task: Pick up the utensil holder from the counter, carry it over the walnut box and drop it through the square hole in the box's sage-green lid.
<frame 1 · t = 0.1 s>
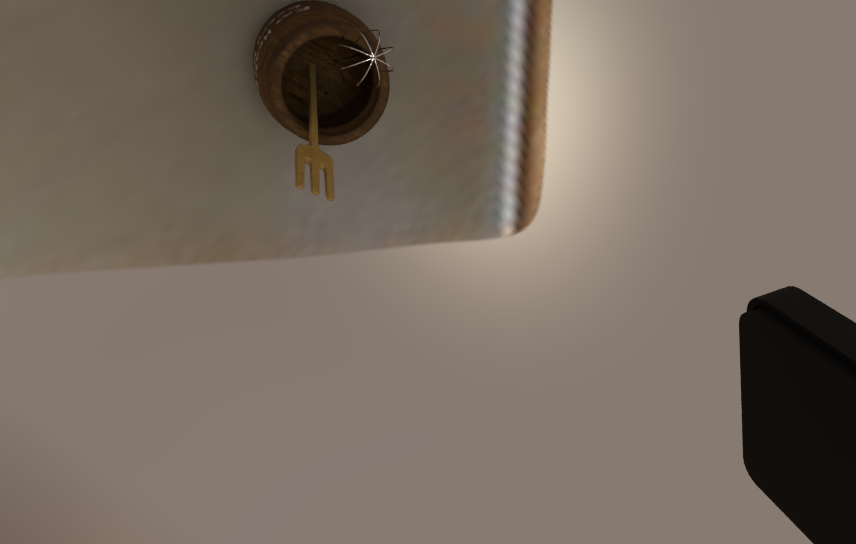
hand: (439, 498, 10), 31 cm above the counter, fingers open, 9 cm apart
utensil holder: (310, 62, 37), on the counter
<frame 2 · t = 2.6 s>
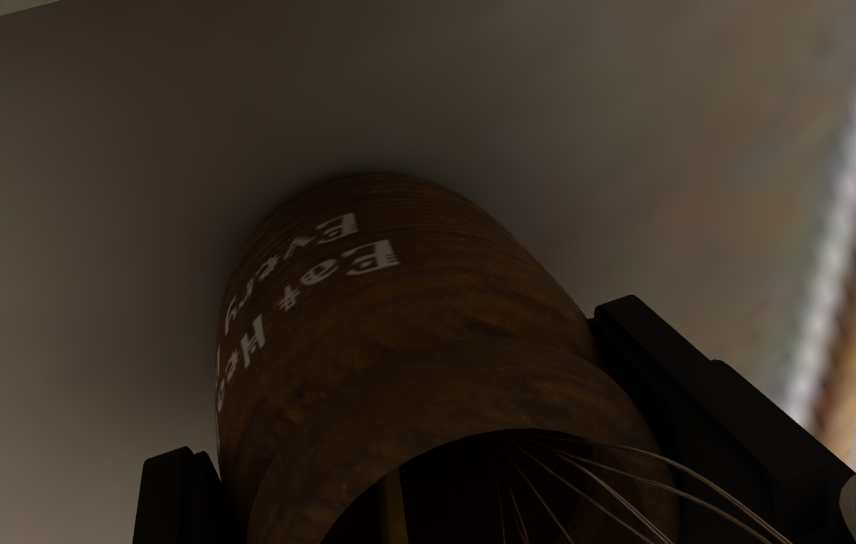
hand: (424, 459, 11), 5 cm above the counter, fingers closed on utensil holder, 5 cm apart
utensil holder: (367, 310, 15), on the counter, touching gripper
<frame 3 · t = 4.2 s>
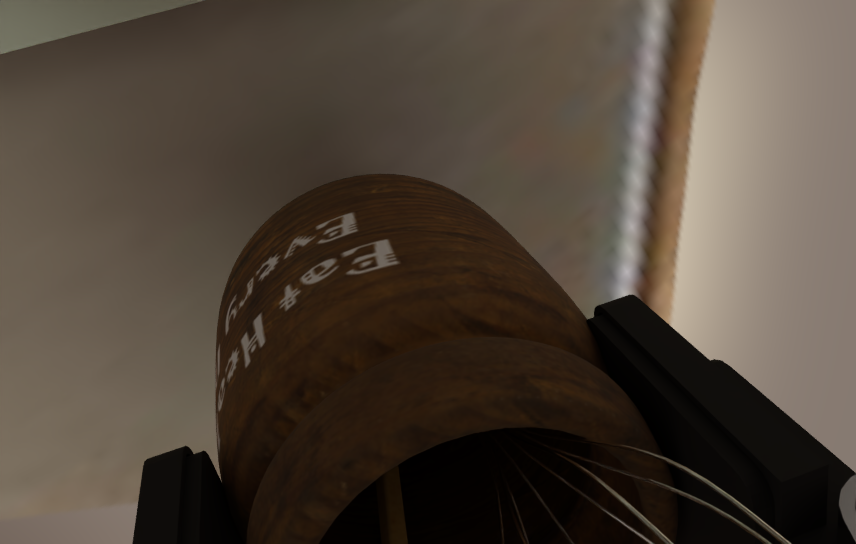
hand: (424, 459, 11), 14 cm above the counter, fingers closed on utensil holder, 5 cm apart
utensil holder: (367, 309, 15), point 9 cm above the counter, touching gripper
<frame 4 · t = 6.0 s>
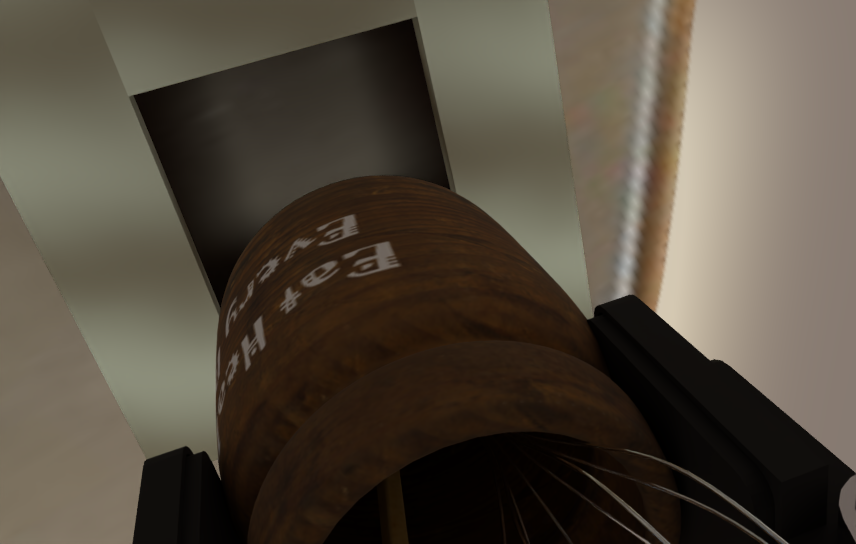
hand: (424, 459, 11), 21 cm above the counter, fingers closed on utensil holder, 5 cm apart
utensil holder: (367, 311, 15), point 16 cm above the counter, touching gripper
drop box: (295, 131, 29), on the counter
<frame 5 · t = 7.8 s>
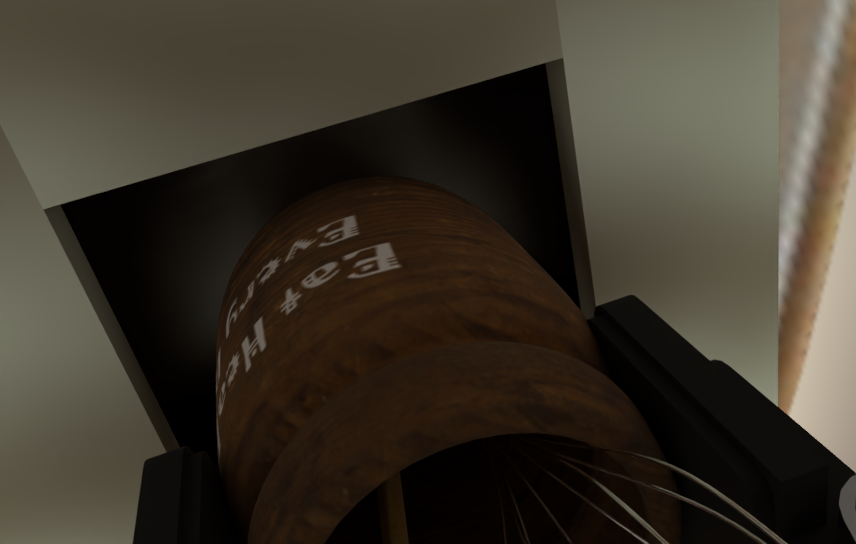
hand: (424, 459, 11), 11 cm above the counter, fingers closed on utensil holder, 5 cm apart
utensil holder: (368, 312, 15), point 6 cm above the counter, touching gripper
drop box: (323, 201, 20), on the counter
when the fingers open (9 cm above the counter, at t = 9.4 s): utensil holder drops 4 cm, resting in drop box.
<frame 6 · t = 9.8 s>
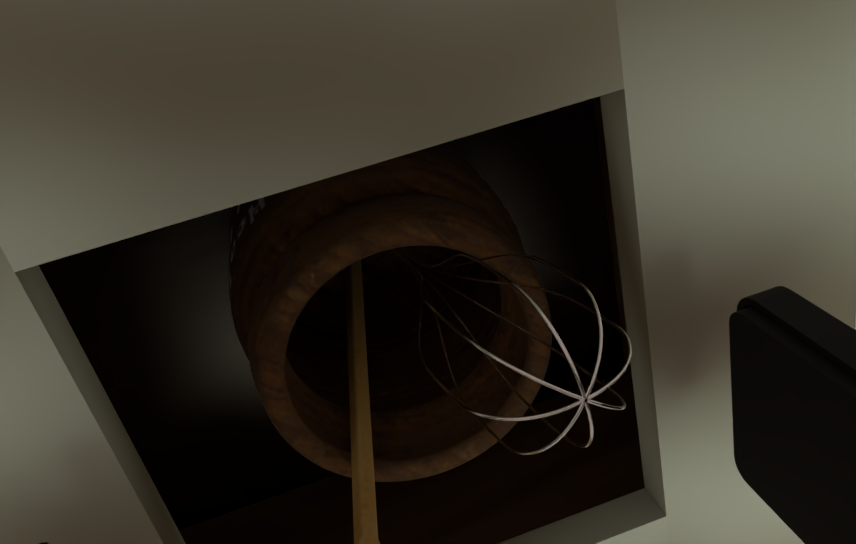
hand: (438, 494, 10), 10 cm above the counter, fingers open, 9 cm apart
utensil holder: (349, 220, 19), resting in drop box
drop box: (336, 234, 19), on the counter
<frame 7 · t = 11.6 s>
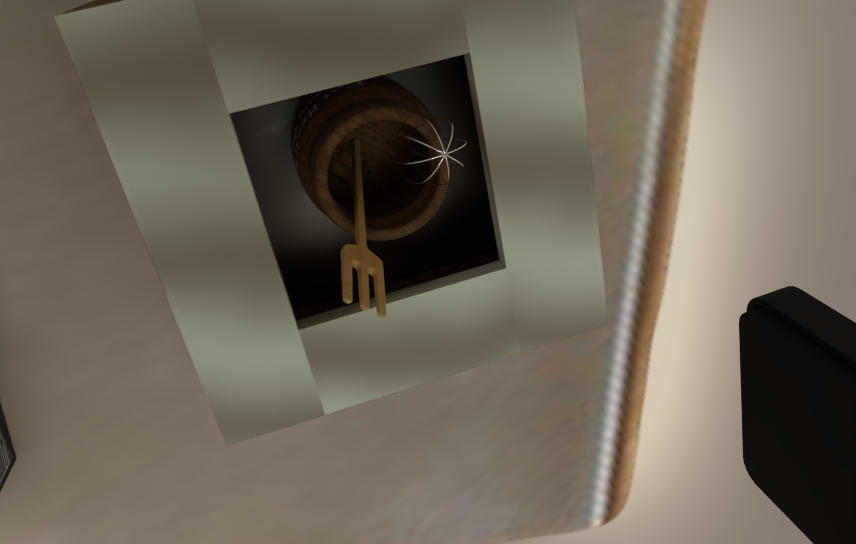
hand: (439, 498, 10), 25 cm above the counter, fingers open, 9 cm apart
utensil holder: (354, 137, 33), resting in drop box
drop box: (346, 145, 33), on the counter
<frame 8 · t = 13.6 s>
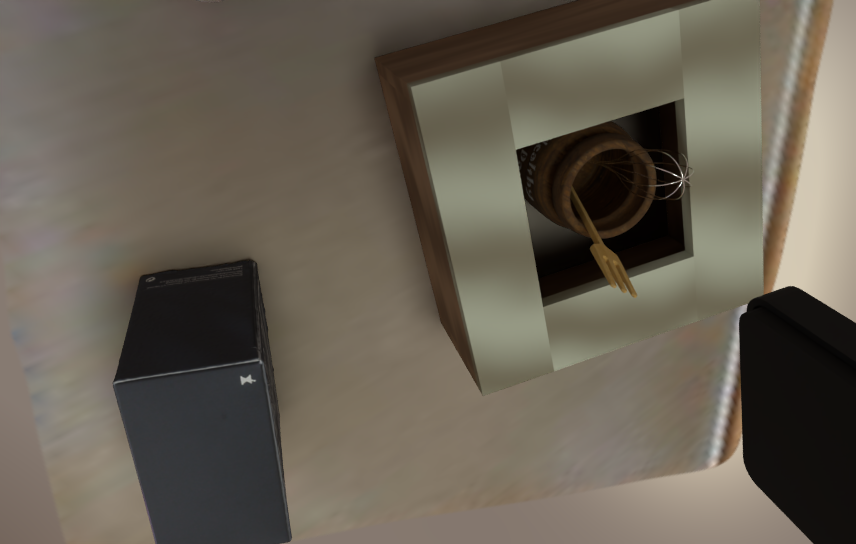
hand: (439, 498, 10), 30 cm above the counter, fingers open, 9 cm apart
small box: (211, 348, 42), on the counter
utensil holder: (549, 154, 42), resting in drop box
drop box: (544, 160, 42), on the counter
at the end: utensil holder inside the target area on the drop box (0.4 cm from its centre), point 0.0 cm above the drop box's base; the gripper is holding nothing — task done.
